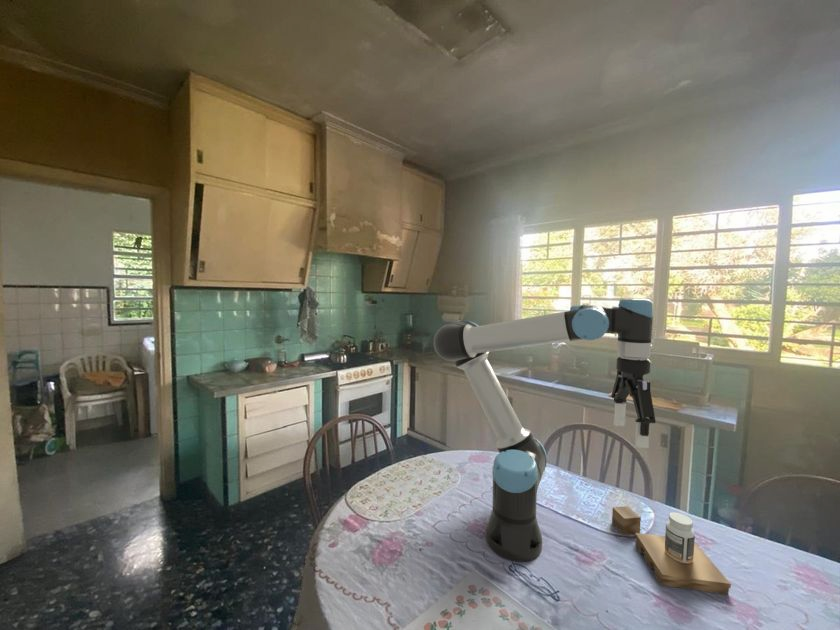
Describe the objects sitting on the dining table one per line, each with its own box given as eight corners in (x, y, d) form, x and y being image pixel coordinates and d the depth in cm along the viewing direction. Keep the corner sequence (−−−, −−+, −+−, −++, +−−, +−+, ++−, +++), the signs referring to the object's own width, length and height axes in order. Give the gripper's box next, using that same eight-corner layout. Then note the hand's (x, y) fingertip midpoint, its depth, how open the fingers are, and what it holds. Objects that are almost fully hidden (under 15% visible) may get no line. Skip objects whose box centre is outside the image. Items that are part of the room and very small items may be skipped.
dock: (661, 586, 79) (662, 574, 79) (634, 543, 93) (635, 532, 93) (729, 596, 77) (730, 583, 76) (691, 549, 90) (692, 539, 90)
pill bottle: (682, 548, 87) (685, 511, 86) (698, 566, 81) (701, 527, 81) (659, 546, 88) (661, 509, 87) (673, 564, 82) (676, 525, 81)
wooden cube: (623, 535, 96) (624, 518, 96) (611, 523, 101) (612, 507, 101) (639, 534, 97) (640, 517, 96) (627, 522, 101) (628, 506, 101)
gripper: (676, 368, 76) (671, 459, 77) (628, 349, 100) (625, 419, 102) (639, 367, 77) (635, 456, 79) (601, 348, 102) (598, 417, 103)
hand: (629, 435), depth 90 cm, fingers open, 13 cm apart
